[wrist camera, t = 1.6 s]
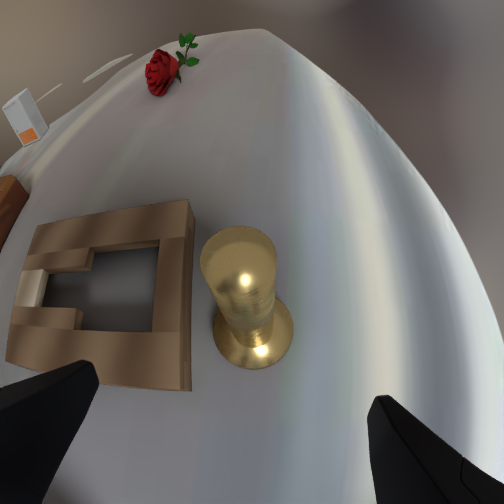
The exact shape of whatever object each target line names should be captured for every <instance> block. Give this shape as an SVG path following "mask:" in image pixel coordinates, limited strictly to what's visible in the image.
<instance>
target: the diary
mask: <svg viewBox="0 0 504 504" xmlns="http://www.w3.org/2000/svg"><path fill="white" fill-rule="evenodd" d="M28 198H29V194H28V193H27V192H26V190H25V189H24V188H23V187H22V185H21V184H20V183H19V181H18V180H17V179H16V178H15V177H13V176H12V175H8V176H5V177H1V178H0V251H1V249H2V247H3V245H4V243H5V241H6V239H7V236H8V234H9V232H10V230H11V228H12V226H13V225H14V223H15V221H16V219H17V217H18V215H19V213H20V212H21V210H22V208H23V206H24V205H25V203H26V201H27V199H28Z"/></svg>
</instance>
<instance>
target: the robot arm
mask: <svg viewBox="0 0 504 504" xmlns="http://www.w3.org/2000/svg"><path fill="white" fill-rule="evenodd" d="M98 386H99V378H98V376H97V373H96V370H95V367H94V365H93V363H92V362H90V361H87V360H84V359H81V360H78V361H76V362H73V363H70V364H68V365H65V366H62V367H59V368H57V369H54V370H51V371H48V372H45V373H43V374H40V375H37V376H34V377H31V378H28V379H25V380H22V381H19V382H16V383H13V384H10V385H7V386H4V387H2V388H0V504H42V501H43V498H44V497H45V494H46V492H47V490H48V488H49V486H50V484H51V482H52V480H53V478H54V476H55V473H56V471H57V469H58V467H59V465H60V464H61V462H62V460H63V458H64V456H65V454H66V452H67V450H68V448H69V446H70V444H71V442H72V441H73V439H74V437H75V435H76V433H77V431H78V430H79V428H80V426H81V424H82V422H83V420H84V418H85V416H86V414H87V412H88V409H89V407H90V405H91V402H92V400H93V398H94V396H95V393H96V391H97V389H98ZM367 424H368V437H369V453H370V463H371V470H372V475H373V481H374V488H375V494H376V501H377V504H504V484H503V483H501V482H500V481H498V480H496V479H494V478H493V477H491V476H490V475H488V474H486V473H485V472H483V471H482V470H480V469H479V468H478V467H476V466H475V465H474V464H472V463H471V462H470V461H469V460H467V459H466V458H465V457H462V455H461V454H460V453H458V452H457V451H456V450H455V449H453V448H452V447H451V446H450V445H449V444H447V443H446V442H445V441H444V440H442V439H441V438H440V437H439V436H438V435H436V434H435V433H434V432H433V431H432V430H430V429H429V428H428V427H427V426H425V425H424V424H423V423H422V422H421V421H419V420H418V419H417V418H416V417H415V416H413V415H412V414H411V413H410V412H409V411H408V410H406V409H405V408H404V407H403V406H402V405H400V404H399V403H398V402H397V401H396V400H394V399H393V398H392V397H391V396H389V395H380V396H376V397H375V399H374V401H373V403H372V406H371V408H370V410H369V413H368V416H367Z"/></svg>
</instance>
